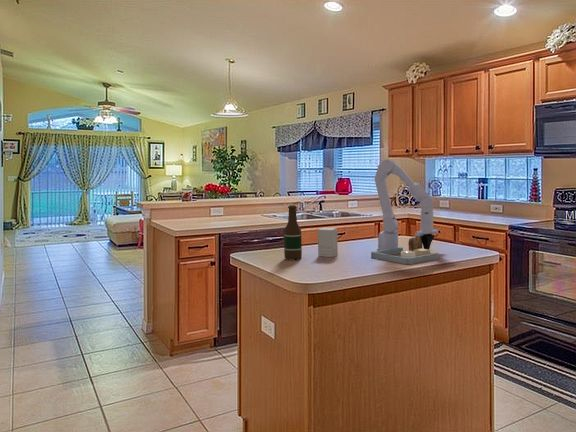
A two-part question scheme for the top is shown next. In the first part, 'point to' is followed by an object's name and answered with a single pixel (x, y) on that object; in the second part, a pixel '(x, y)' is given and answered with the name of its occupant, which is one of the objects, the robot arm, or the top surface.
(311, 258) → the top surface
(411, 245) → the tin
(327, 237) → the supplement box
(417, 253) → the kraft box
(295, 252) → the beer bottle
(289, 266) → the top surface
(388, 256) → the tray
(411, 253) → the white short round piece
